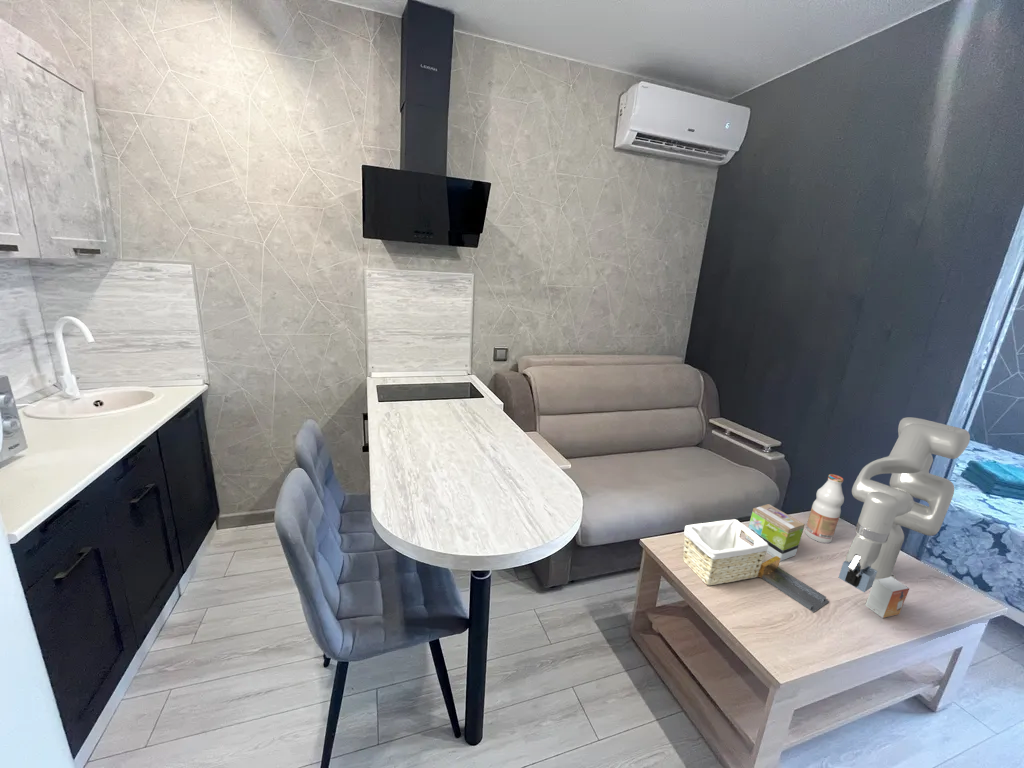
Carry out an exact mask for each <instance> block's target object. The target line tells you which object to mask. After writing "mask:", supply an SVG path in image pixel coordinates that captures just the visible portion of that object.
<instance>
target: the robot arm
mask: <svg viewBox="0 0 1024 768" xmlns="http://www.w3.org/2000/svg"><path fill="white" fill-rule="evenodd" d="M897 432H898V438H897V439H896V442H895V443H894V445H893V447H892V450H891V451H890V453H889V455H887V456H884V457H882V458H877V459H876V460H872V461H871V462H869V463H867V464H866V465H865V466H863V467H862V468H861V470H860V472H859V474H858V475H857V477H856V480H855V481H854V482H853V485H852V488H851V494H852V497H853V498H854V499H856V500H857V501H859V502H861V503H863V505H862V508H861V512H860V514H859V517H858V521H857V523H856V527H855V533H856V535H855V536H854V538H853V540H852V542H851V544H850V547H849V549H848V552H847V555H845V561H847V562H850V561H852V563H851V564H850V566H849V568H848V572H847V575H846V578H845V581H846V582H845V581H844V582H845V583H847V582H848V583H847V584H849V585H850V584H851V585H850V586H852V585H853V587H854V586H855V587H857V586H858V584H859V581H860V578H861V576H860V574H861V572H862V570H863V569H865V568H867V567H868V566H869V567H871V568H873V569H874V570H876V571H877V574H876V577H875V579H874V580H876V579H882V578H887V577H893V578H894V579H896V580H897V578H896V575H895V574H894V573H893V570H894V568H895V565H896V562H897V559H898V557H899V555H900V552H901V549H902V546H903V543H904V540H905V534H904V530H903V528H906V529H909V530H912V531H914V532H917V533H919V534H921V535H925V536H929V537H933V536H935V535H937V534H938V533H939V531H940V530H941V528H942V526H943V523H944V520H945V518H946V515H947V513H948V510H949V507H950V505H951V502H952V500H953V497H954V493H955V486H954V483H953V482H952V481H951V480H949V479H948V478H945V477H942V476H940V475H936V474H933V473H930V469H931V467H932V464H933V462H934V458H933V455H935V456H939V457H942V458H946V459H951V460H955V459H957V458H959V457H960V456H961V455H962V454H963V453H964V451H965V450H966V449H967V447H968V446H969V444H970V440H971V435H970V433H969V431H968V430H967V429H964V428H961V427H957V426H953V425H949V424H944V423H940V422H937V421H934V420H933V421H931V420H927V419H924V418H920V417H919V418H918V417H902V418H901V419H900V420H899V424H898V428H897ZM882 474H883V475H885V474H891V476H890V478H889V485H887V484H884V483H881V482H879V481H876V480H873V479H872V478H873V477H875V476H877V475H882ZM914 498H915V499H918V500H921V501H924V502H926V503H927V504H928V505H925V504H922V503H919V502H916V501H915V500H914ZM902 527H903V528H902ZM858 564H860V566H859V565H858ZM856 567H857V568H859V570H858V571H857V570H856ZM855 587H854V588H855Z"/></svg>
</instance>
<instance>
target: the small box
mask: <svg viewBox="0 0 1024 768" xmlns="http://www.w3.org/2000/svg"><path fill="white" fill-rule="evenodd" d="M909 591H910V587H908V586H907V585H905V584H904V583H903V582H901V581H899V580H898V579H897V578H896V579H894V578H893V577H887V578H882V579H876V580H874V582H873V585H872V587H871V588H870V591H869V594H868V597H867V599H866V603H865V606H866V608H868V609H870V610H871V611H872V612H874V613H875V614H876V615H878V616H879V617H881V618H882V619H884V618H887V617H892V616H897V615H900V614H901V610H902V608H903V606H904V604H905V601H906V599H907V597H908V593H909Z"/></svg>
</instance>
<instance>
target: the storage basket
mask: <svg viewBox="0 0 1024 768" xmlns="http://www.w3.org/2000/svg"><path fill="white" fill-rule="evenodd" d="M683 530H684V531H683V535H684V538H683V539H684V541H683V552H682V553H683V554H682V560H683V561H684V563H685V564H686V565H687V566H688V567H689V568H690V569H691V570H692V571H693V573H695V575H696V576H697V577H698V578H700V580H701V581H702V582H703V583H705V585H707V586H715V585H721V584H727V583H732V582H737V581H742V580H744V581H745V580H747V579H753V578H757V577H758V578H759V576H758V573H759V570H760V567H761V564H762V563H763V561H764V558H765V557H766V555H767V552H766V551H767V549H768V543H767V542H765V541H764V540H763V539H762V538H761V537H759V536H758V535H757V534H756V533H754V532H753V531H752V530H750V529H749V528H748V526H746V525H745V524H744V523H742V522H740V521H739V520H738V519H735V518H733V519H725V520H717V521H711V522H703V523H702V522H700V523H694V524H693V523H692V524H688V525H687V524H686V525H685V526H684V529H683ZM742 533H743V534H744V535H745V537H746V536H748V537H749V538H751V540H753V541H754V543H753V545H751V544H749V543H748V542H747V541H745V540H743V538H741V536H742Z"/></svg>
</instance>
